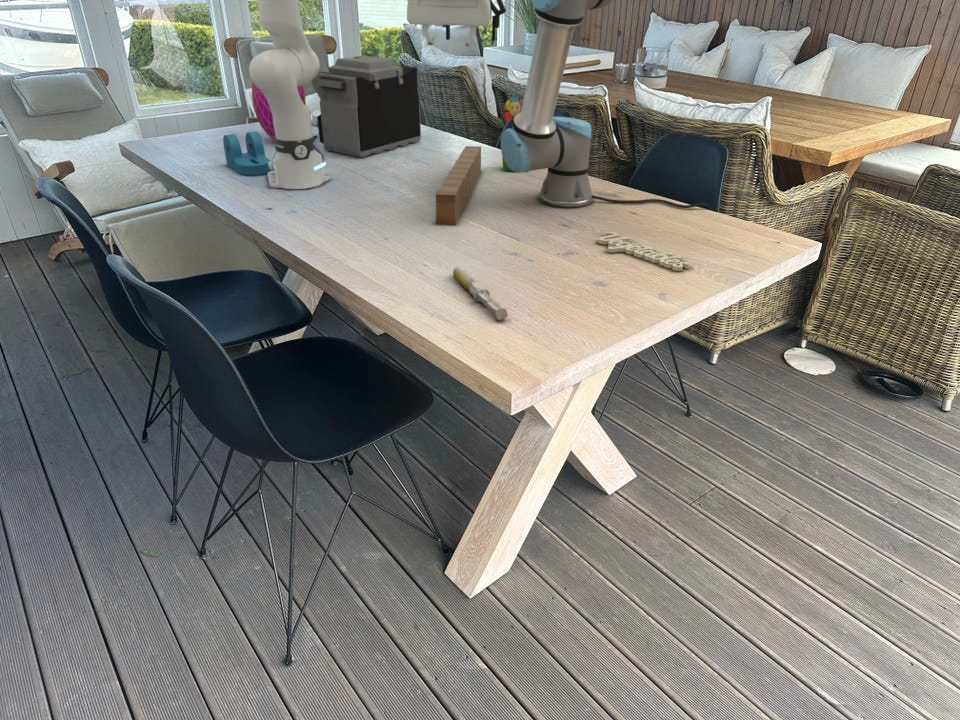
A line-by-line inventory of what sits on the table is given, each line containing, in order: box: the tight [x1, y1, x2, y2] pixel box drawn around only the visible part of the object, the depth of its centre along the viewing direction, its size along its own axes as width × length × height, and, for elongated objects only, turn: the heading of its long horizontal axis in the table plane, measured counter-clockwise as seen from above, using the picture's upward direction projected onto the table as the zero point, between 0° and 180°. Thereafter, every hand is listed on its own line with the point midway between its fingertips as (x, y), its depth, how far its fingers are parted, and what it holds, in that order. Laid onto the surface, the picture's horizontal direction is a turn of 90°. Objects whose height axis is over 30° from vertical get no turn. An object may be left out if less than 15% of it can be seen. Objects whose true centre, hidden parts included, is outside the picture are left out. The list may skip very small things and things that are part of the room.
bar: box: [435, 145, 482, 226], centre depth 205 cm, size 53×5×8 cm, turn 173°
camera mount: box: [222, 131, 272, 176], centre depth 226 cm, size 18×10×10 cm, turn 35°
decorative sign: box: [598, 231, 690, 272], centre depth 167 cm, size 26×1×10 cm
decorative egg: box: [251, 80, 307, 140], centre depth 257 cm, size 19×19×30 cm
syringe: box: [452, 266, 509, 321], centre depth 145 cm, size 25×4×3 cm, turn 21°
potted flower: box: [500, 91, 524, 172], centre depth 226 cm, size 9×8×25 cm
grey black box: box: [311, 55, 422, 159], centre depth 250 cm, size 37×22×30 cm, turn 144°
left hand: (449, 45), depth 168 cm, fingers open, 8 cm apart
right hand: (470, 40), depth 203 cm, fingers open, 13 cm apart
